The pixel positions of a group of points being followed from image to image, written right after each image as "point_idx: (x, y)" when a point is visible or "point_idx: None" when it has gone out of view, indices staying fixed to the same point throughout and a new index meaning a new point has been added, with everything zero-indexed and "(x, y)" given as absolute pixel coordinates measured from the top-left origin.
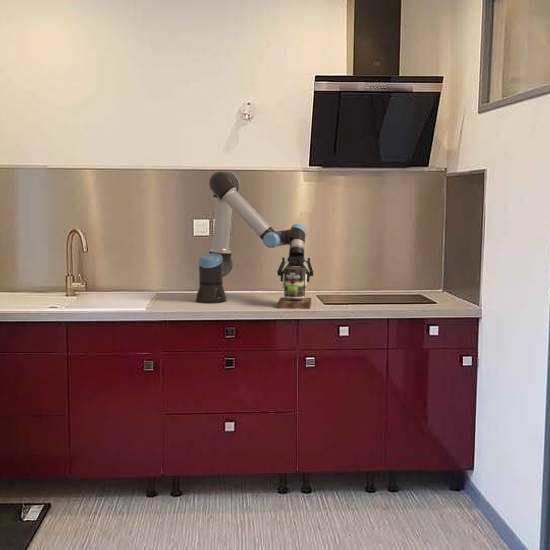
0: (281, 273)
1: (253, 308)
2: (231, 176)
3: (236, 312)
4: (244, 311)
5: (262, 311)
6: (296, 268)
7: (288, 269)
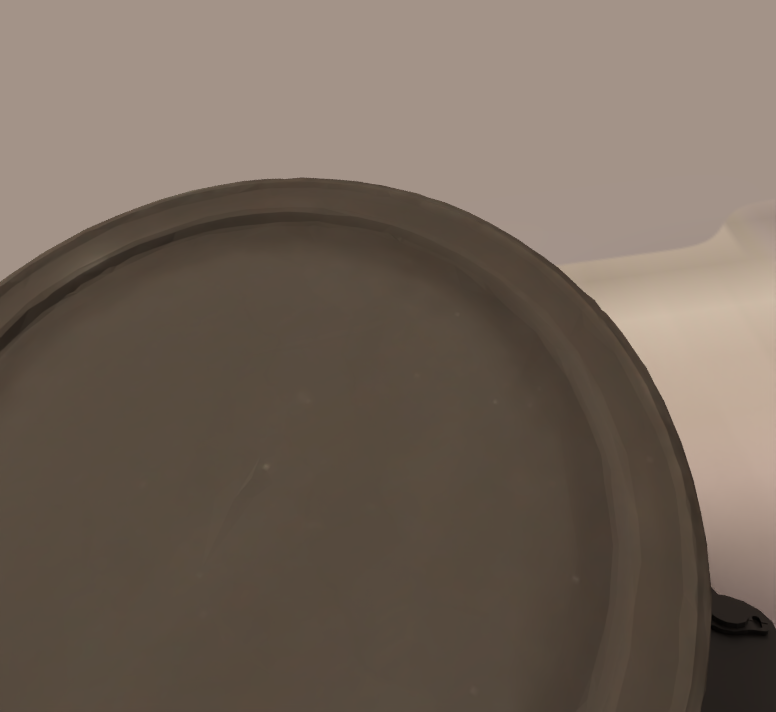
0: (730, 600)
1: (744, 406)
2: None
3: (769, 215)
4: (735, 258)
5: (595, 278)
6: (202, 392)
7: (449, 217)
